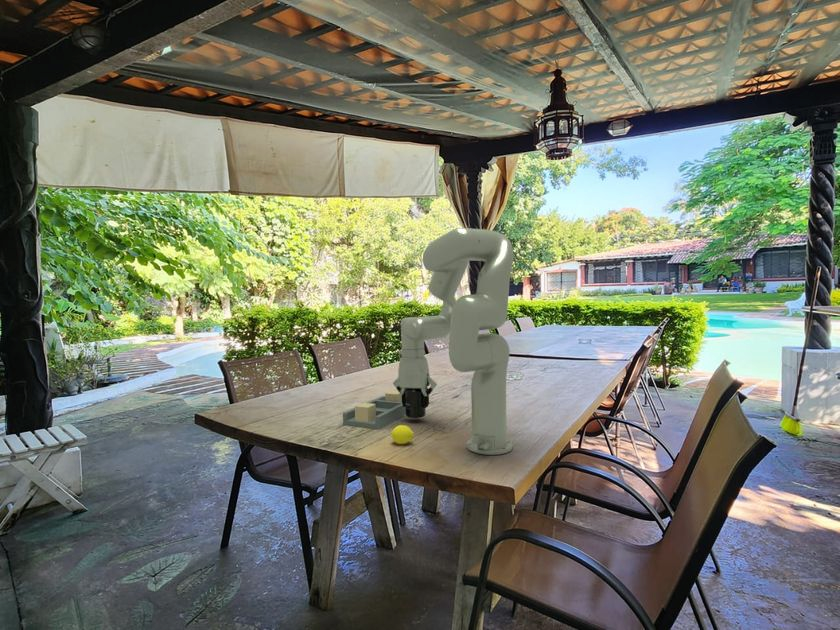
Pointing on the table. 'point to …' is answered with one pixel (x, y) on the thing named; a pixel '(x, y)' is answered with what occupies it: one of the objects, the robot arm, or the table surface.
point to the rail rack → (376, 412)
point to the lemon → (402, 434)
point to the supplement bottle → (414, 403)
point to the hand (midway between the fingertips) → (415, 406)
